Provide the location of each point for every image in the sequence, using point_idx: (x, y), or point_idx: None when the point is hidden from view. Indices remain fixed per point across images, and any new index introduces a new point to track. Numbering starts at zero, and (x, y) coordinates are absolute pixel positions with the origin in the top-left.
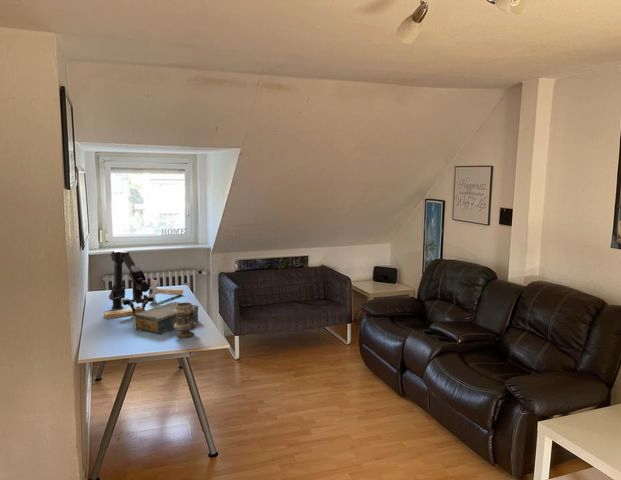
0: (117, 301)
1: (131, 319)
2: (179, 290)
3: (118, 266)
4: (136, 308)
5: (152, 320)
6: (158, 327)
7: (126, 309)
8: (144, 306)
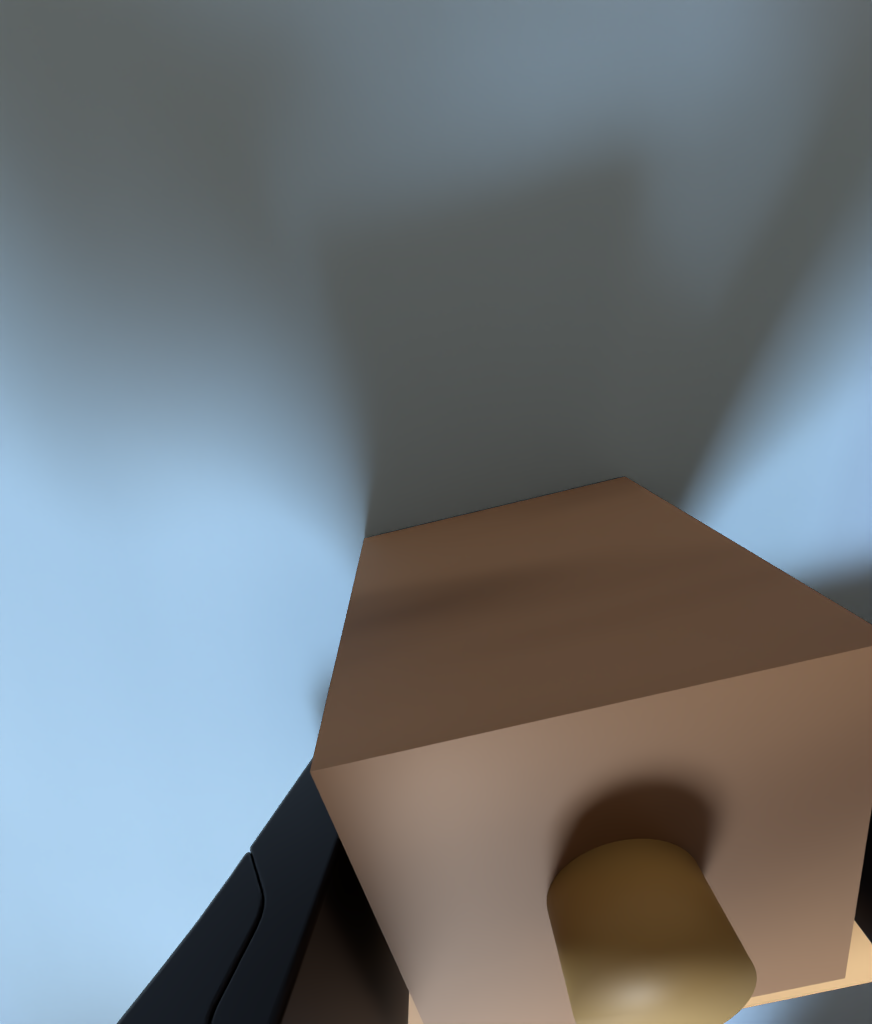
0: None
1: (825, 112)
2: None
3: None
4: (762, 760)
5: None
6: None
7: (850, 969)
8: (211, 964)
